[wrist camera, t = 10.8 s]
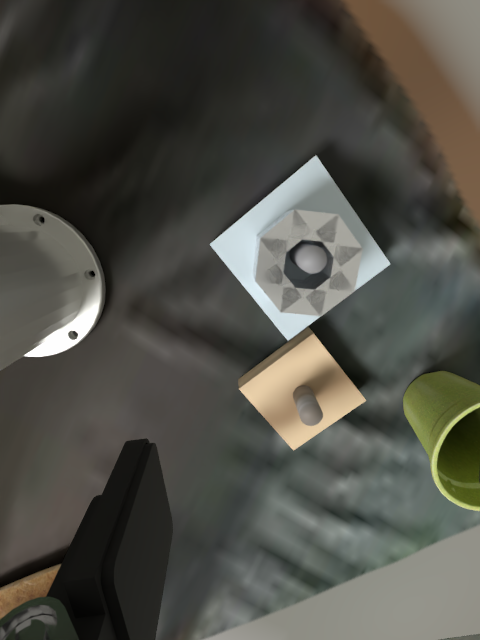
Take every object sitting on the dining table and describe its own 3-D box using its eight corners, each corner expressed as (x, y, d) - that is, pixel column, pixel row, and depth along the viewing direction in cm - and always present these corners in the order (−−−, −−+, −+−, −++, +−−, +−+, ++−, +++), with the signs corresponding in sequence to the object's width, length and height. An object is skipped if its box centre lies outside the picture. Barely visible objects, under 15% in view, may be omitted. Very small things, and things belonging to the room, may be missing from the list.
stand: (238, 379, 33) (239, 409, 27) (308, 326, 31) (323, 347, 26) (290, 437, 34) (300, 476, 29) (358, 390, 33) (382, 421, 28)
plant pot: (363, 415, 34) (406, 478, 26) (425, 334, 32) (493, 374, 23) (439, 457, 35) (503, 530, 27) (503, 382, 33) (594, 436, 25)
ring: (259, 208, 26) (263, 205, 22) (349, 218, 27) (369, 217, 23) (249, 298, 28) (251, 310, 24) (334, 306, 28) (349, 319, 24)
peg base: (211, 242, 29) (205, 248, 23) (309, 161, 28) (331, 141, 21) (283, 331, 31) (296, 360, 25) (377, 260, 30) (418, 271, 23)
